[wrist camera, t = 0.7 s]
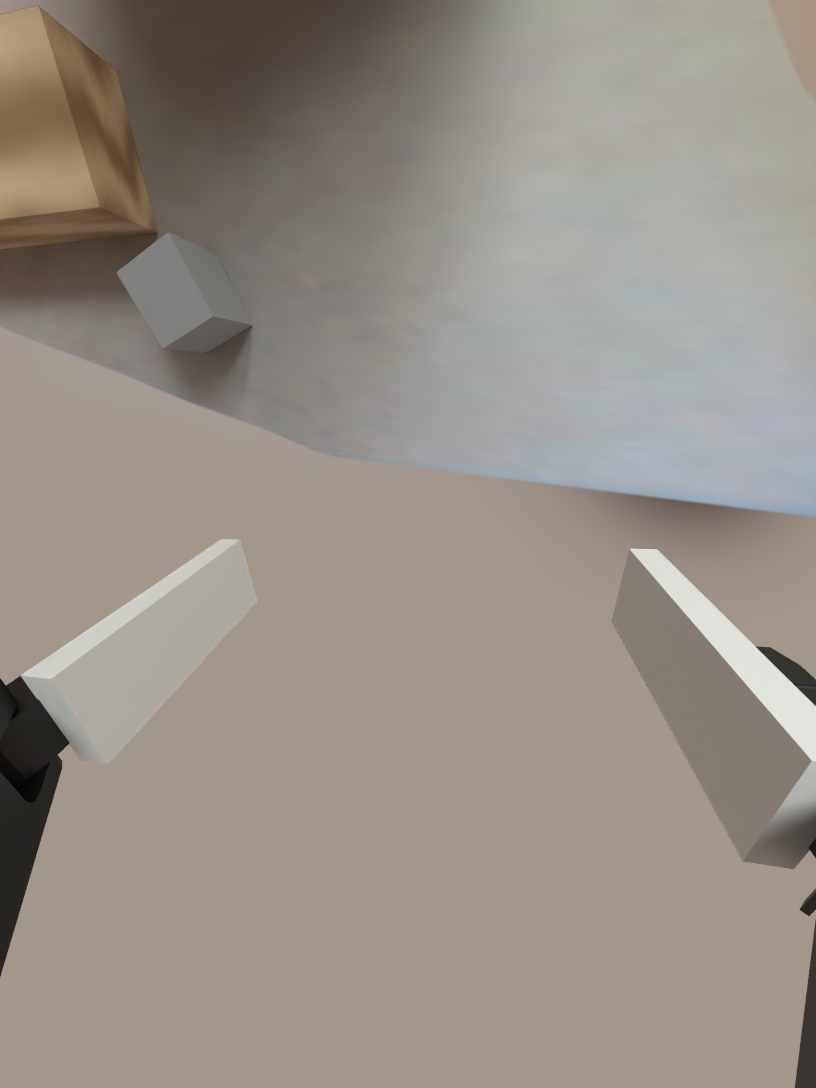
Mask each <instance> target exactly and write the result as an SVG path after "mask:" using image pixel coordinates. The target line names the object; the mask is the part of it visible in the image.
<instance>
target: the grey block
mask: <svg viewBox="0 0 816 1088" xmlns="http://www.w3.org/2000/svg"><path fill="white" fill-rule="evenodd" d="M116 273H117V275H118V276H119V278H120V280H121V282H122V283H123V285H124V287H125V288H126V290H127V292H128V293H129V295H130V297H131V298H132V300H133V302H134V303H135V305H136V307H137V308H138V310H139V312H140V314H141V315H142V317H143V319H144V320H145V322H146V324H147V325H148V327H149V329H150V330H151V332H152V334H153V335H154V337H155V339H156V340H157V342H158V344H159V346H160V347H161V349H163V350H176V351H189V352H202V353H208V352H209V351H211V350H213V349H214V348H216V347H218V346H219V345H221V344H222V343H224V342H226V341H227V340H229V339H231V338H232V337H234V336H236V335H237V334H239V333H240V332H242V331H244V330H245V329H247V328H249V327H250V326H252V323H251V321H250V319H249V317H248V315H247V313H246V311H245V309H244V307H243V305H242V303H241V301H240V299H239V297H238V295H237V293H236V291H235V289H234V287H233V285H232V283H231V281H230V279H229V277H228V275H227V273H226V271H225V269H224V267H223V265H222V263H221V261H220V259H219V257H218V255H217V254H215V253H213V252H211V251H208V250H206V249H204V248H202V247H200V246H198V245H196V244H193V243H191V242H189V241H187V240H185V239H183V238H181V237H178V236H176V235H174V234H172V233H170V232H167V233H166V234H164V235H163V236H162V237H161V238H159V239H158V240H157V241H155V242H154V243H153V244H152V245H150V246H149V247H148V248H147V249H145V250H144V251H143V252H141V253H140V254H139V255H138V256H136V257H135V258H134V259H133V260H131V261H130V262H129V263H127V264H126V265H125V266H124V267H122V268H121V269H120V270H119V271H117V272H116Z"/></svg>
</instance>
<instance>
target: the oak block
mask: <svg viewBox="0 0 816 1088" xmlns="http://www.w3.org/2000/svg"><path fill="white" fill-rule="evenodd" d="M149 233H158V232H157V228H156V225H155V221H154V217H153V213H152V209H151V205H150V201H149V197H148V193H147V190H146V186H145V182H144V178H143V174H142V170H141V166H140V162H139V158H138V154H137V151H136V147H135V143H134V139H133V135H132V131H131V127H130V123H129V119H128V116H127V112H126V108H125V104H124V100H123V96H122V92H121V88H120V84H119V81H118V77H117V73H116V71H115V70H114V69H113V68H112V67H111V66H110V65H108V64H107V63H106V62H105V61H104V60H102V59H101V58H100V57H99V56H98V55H96V54H95V53H94V52H93V51H92V50H90V49H89V48H88V47H87V46H86V45H85V44H83V43H82V42H81V41H80V40H79V39H77V38H76V37H75V36H74V35H73V34H71V33H70V32H69V31H68V30H67V29H66V28H64V27H63V26H62V25H61V24H60V23H58V22H57V21H56V20H55V19H54V18H52V17H51V16H50V15H49V14H48V13H47V12H45V11H44V10H43V9H42V8H41V7H39V6H34V7H30V8H26V9H22V10H17V11H13V12H9V13H5V14H0V249H7V248H16V247H26V246H35V245H45V244H54V243H64V242H73V241H83V240H92V239H102V238H111V237H121V236H130V235H140V234H149Z"/></svg>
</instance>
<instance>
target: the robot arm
mask: <svg viewBox="0 0 816 1088" xmlns="http://www.w3.org/2000/svg"><path fill="white" fill-rule="evenodd" d="M257 602H258V601H257V597H256V593H255V590H254V586H253V583H252V580H251V576H250V572H249V569H248V566H247V562H246V558H245V555H244V552H243V548H242V545H241V541H240V540H236V539H235V540H234V539H221V540H220V541H218V542H217V543H215V544H214V545H212V546H211V547H209V548H208V549H206V550H205V551H203V552H202V553H201V554H199V555H197V556H196V557H194V558H193V559H192V560H190V561H189V562H187V563H186V564H184V565H183V566H181V567H180V568H178V569H177V570H175V571H174V572H172V573H171V574H169V575H168V576H167V577H165V578H164V579H162V580H161V581H160V582H158V583H156V584H155V585H153V586H152V587H150V588H149V589H147V590H146V591H144V592H143V593H141V594H140V595H139V596H137V597H136V598H134V599H133V600H131V601H130V602H128V603H127V604H125V605H124V606H122V607H121V608H119V609H118V610H116V611H115V612H114V613H112V614H111V615H109V616H108V617H106V618H105V619H103V620H102V621H100V622H99V623H97V624H96V625H95V626H93V627H92V628H90V629H88V630H87V631H86V632H84V633H83V634H81V635H80V636H78V637H77V638H76V639H74V640H72V641H71V642H69V643H68V644H67V645H65V646H63V647H62V648H60V649H59V650H58V651H56V652H55V653H53V654H52V655H50V656H49V657H47V658H46V659H44V660H43V661H41V662H40V663H38V664H37V665H36V666H34V667H33V668H31V669H30V670H28V671H27V672H25V673H24V674H22V675H21V676H20V677H18V678H17V679H15V680H14V681H13V682H11V683H9V684H8V685H6V686H5V684H4V683H3V682H2V680H1V679H0V976H1V973H2V969H3V966H4V962H5V959H6V956H7V952H8V949H9V946H10V942H11V939H12V935H13V932H14V929H15V925H16V922H17V919H18V915H19V912H20V908H21V905H22V902H23V898H24V895H25V891H26V888H27V885H28V881H29V878H30V874H31V871H32V868H33V864H34V861H35V858H36V854H37V851H38V848H39V844H40V841H41V837H42V834H43V831H44V827H45V824H46V820H47V817H48V813H49V810H50V807H51V804H52V800H53V796H54V793H55V790H56V787H57V783H58V780H59V777H60V773H61V770H62V761H61V759H60V758H59V756H58V754H59V753H60V752H61V751H62V750H63V749H64V748H65V747H66V746H67V745H68V744H69V745H70V746H71V747H72V749H73V750H74V752H75V753H76V754H77V756H78V757H79V759H80V760H82V761H88V762H94V763H101V764H109V763H110V761H111V760H112V759H113V758H114V757H115V756H116V755H117V754H118V753H119V752H120V751H121V749H122V748H123V747H124V746H125V745H126V744H127V743H128V742H129V741H130V740H131V739H132V738H133V736H134V735H135V734H136V733H137V732H138V731H139V730H140V729H141V728H142V727H143V726H144V725H145V723H146V722H147V721H148V720H149V719H150V718H151V717H152V716H153V715H154V714H155V713H156V712H157V711H158V709H159V708H160V707H161V706H162V705H163V704H164V703H165V702H166V701H167V700H168V699H169V697H170V696H171V695H172V694H173V693H174V692H175V691H176V690H177V688H179V687H180V686H181V684H182V683H183V682H184V681H185V680H186V679H187V678H188V677H189V676H190V675H191V674H192V673H193V671H194V670H195V669H196V668H197V667H198V666H199V665H200V664H201V663H202V662H203V661H204V660H205V658H206V657H207V656H208V655H209V654H210V653H211V652H212V651H213V650H214V649H215V648H216V646H217V645H218V644H219V643H220V642H221V641H222V640H223V639H224V638H225V637H226V636H227V635H228V633H229V632H230V631H231V630H232V629H233V628H234V627H235V626H236V625H237V624H238V623H239V622H240V620H241V619H242V618H243V617H244V616H245V615H246V614H247V613H248V612H249V611H250V610H251V609H252V608H253V606H254V605H255V604H256V603H257ZM612 623H613V625H614V627H615V628H616V630H617V632H618V634H619V636H620V637H621V639H622V641H623V643H624V645H625V647H626V649H627V650H628V652H629V654H630V655H631V658H632V660H633V661H634V663H635V665H636V667H637V669H638V671H639V672H640V674H641V676H642V678H643V680H644V682H645V683H646V685H647V687H648V689H649V691H650V693H651V694H652V696H653V698H654V700H655V702H656V704H657V705H658V707H659V709H660V711H661V713H662V715H663V716H664V718H665V720H666V722H667V724H668V726H669V727H670V729H671V731H672V733H673V735H674V737H675V738H676V740H677V742H678V744H679V746H680V748H681V749H682V751H683V753H684V755H685V757H686V758H687V760H688V762H689V764H690V766H691V768H692V770H693V771H694V773H695V775H696V777H697V779H698V781H699V783H700V784H701V786H702V788H703V790H704V792H705V794H706V795H707V797H708V799H709V801H710V803H711V804H712V806H713V808H714V810H715V812H716V814H717V816H718V817H719V819H720V821H721V823H722V825H723V826H724V828H725V830H726V832H727V833H728V836H729V838H730V839H731V841H732V843H733V845H734V847H735V849H736V850H737V852H738V854H739V856H740V858H741V859H742V861H744V862H751V863H757V864H764V865H770V866H778V867H784V868H790V869H794V868H795V867H796V866H797V865H798V863H799V862H800V861H801V860H802V859H803V857H804V856H805V855H806V854H807V853H808V851H809V850H810V851H811V852H812V853H813V855H814V856H815V858H816V680H815V679H814V678H813V677H812V676H811V675H810V674H809V673H808V672H807V671H806V670H805V669H803V668H802V667H801V666H800V665H799V664H797V663H795V662H794V661H792V660H790V659H789V658H787V657H785V656H783V655H782V654H780V653H779V652H777V651H775V650H774V649H772V648H770V647H755V646H754V645H753V644H752V643H751V642H750V641H749V640H748V639H747V638H746V637H745V636H744V635H743V634H742V633H741V632H740V631H739V630H738V629H737V628H736V627H735V626H734V625H733V624H732V623H731V622H730V621H729V620H728V619H727V618H726V617H725V616H724V615H723V614H722V613H721V612H720V611H719V610H718V609H717V608H716V607H715V606H714V605H713V604H712V603H711V602H710V601H709V600H708V599H707V598H705V596H704V595H702V594H701V592H700V591H698V589H696V588H695V587H694V586H693V585H692V584H691V583H690V582H689V581H688V580H687V579H686V578H685V577H684V576H683V575H682V574H681V573H680V572H679V571H678V570H677V569H676V568H675V567H674V566H673V565H672V564H671V563H670V562H669V561H668V560H667V559H666V558H665V557H664V556H663V555H662V554H661V553H660V552H659V551H658V550H657V549H629V552H628V556H627V560H626V564H625V568H624V573H623V577H622V581H621V586H620V589H619V593H618V598H617V601H616V606H615V610H614V614H613V618H612ZM800 910H801V911H802V912H804V913H805V914H807V915H808V916H810V915H811V914H812V913H813V912H814V911H815V910H816V889H815V890H814V891H813V892H812V893H811V894H810V895H809V897H808V898H807V899H806V900H805V901H804V903H803V905H802V906H801V908H800ZM795 1088H816V923H815V930H814V938H813V946H812V954H811V962H810V970H809V978H808V986H807V994H806V1003H805V1012H804V1019H803V1027H802V1035H801V1043H800V1051H799V1059H798V1067H797V1075H796V1083H795Z"/></svg>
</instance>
